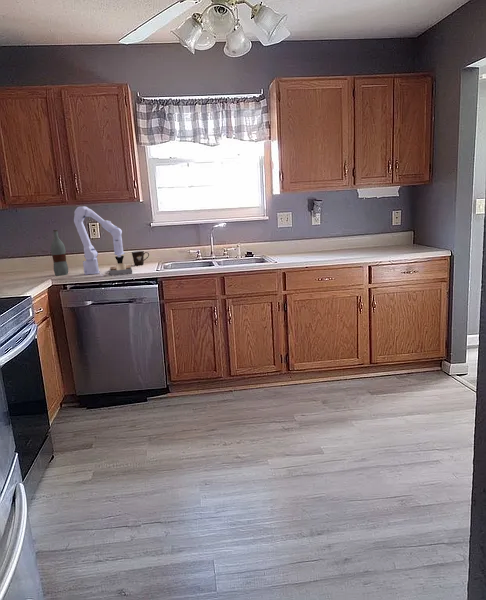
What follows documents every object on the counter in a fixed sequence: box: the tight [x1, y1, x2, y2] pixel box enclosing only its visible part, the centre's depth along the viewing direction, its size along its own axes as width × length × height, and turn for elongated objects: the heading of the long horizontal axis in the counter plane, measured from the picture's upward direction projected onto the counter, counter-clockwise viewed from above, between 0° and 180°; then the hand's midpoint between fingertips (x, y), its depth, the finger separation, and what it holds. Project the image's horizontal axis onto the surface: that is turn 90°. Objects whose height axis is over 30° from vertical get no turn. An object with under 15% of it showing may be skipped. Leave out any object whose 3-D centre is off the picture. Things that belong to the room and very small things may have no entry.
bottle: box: [50, 229, 69, 277], centre depth 309 cm, size 9×9×30 cm
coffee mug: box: [131, 250, 150, 267], centre depth 337 cm, size 12×9×10 cm
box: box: [109, 266, 133, 276], centre depth 303 cm, size 14×10×3 cm
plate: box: [109, 264, 132, 271], centre depth 314 cm, size 14×12×2 cm
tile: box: [115, 262, 127, 270], centre depth 305 cm, size 6×6×2 cm
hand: (120, 266), depth 309 cm, fingers closed
